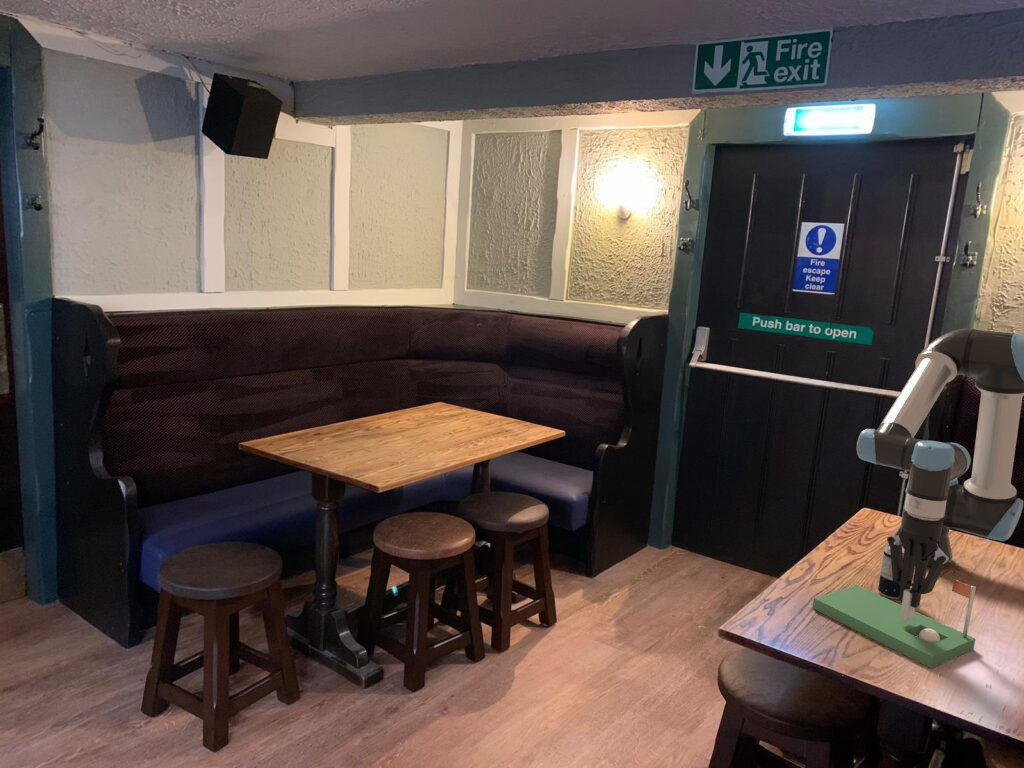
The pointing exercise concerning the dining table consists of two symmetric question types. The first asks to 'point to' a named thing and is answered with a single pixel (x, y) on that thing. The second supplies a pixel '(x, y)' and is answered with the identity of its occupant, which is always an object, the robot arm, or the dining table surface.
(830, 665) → the dining table surface
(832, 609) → the putting mat
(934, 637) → the ball
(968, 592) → the flag pin
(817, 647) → the dining table surface
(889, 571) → the beverage can
